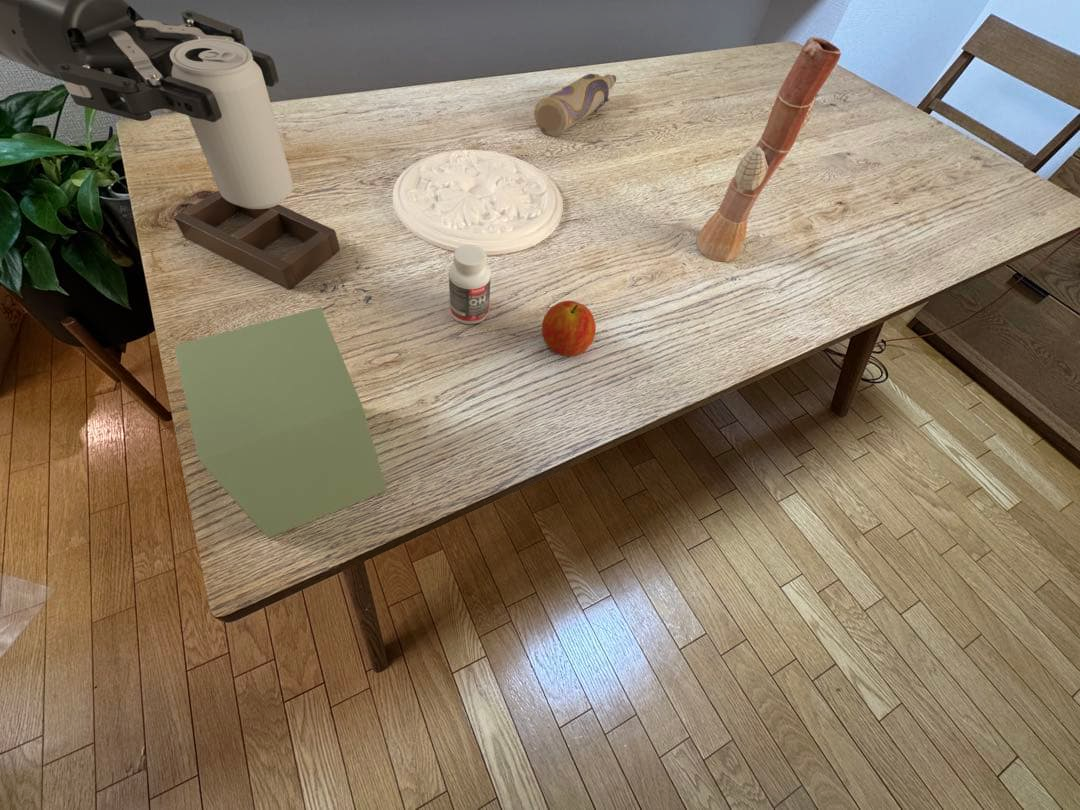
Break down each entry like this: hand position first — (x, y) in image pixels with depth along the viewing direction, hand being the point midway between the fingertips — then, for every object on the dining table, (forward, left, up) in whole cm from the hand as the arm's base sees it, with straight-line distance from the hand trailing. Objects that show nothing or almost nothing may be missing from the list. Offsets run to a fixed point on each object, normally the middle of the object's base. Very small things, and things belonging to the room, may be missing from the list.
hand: (245, 88), depth 41 cm
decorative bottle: (+75, -1, -30) cm, 81 cm away
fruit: (+16, -26, -30) cm, 43 cm away
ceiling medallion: (+37, 0, -30) cm, 48 cm away
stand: (-15, -10, -30) cm, 35 cm away
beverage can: (0, +2, -10) cm, 10 cm away
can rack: (+9, +20, -30) cm, 37 cm away
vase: (+51, -39, -30) cm, 70 cm away
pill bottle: (+14, -12, -30) cm, 35 cm away
